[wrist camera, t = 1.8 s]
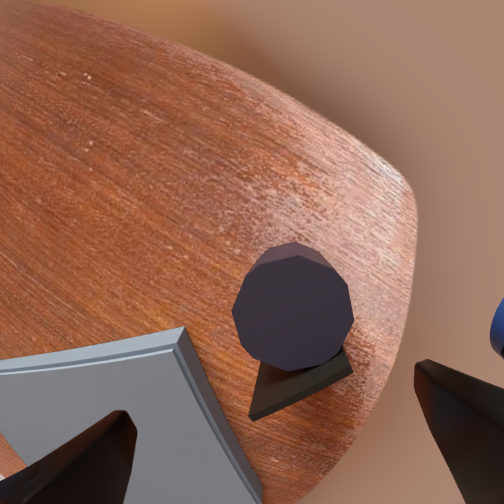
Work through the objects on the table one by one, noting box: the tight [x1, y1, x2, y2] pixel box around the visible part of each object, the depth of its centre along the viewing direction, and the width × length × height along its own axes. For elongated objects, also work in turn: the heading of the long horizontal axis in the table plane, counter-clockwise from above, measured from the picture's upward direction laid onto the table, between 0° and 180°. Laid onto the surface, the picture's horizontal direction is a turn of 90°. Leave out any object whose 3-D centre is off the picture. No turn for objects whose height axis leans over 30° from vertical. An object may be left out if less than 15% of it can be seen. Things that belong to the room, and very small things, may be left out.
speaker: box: [232, 242, 354, 422], centre depth 18 cm, size 8×6×10 cm
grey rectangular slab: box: [0, 326, 263, 504], centre depth 26 cm, size 32×22×3 cm
